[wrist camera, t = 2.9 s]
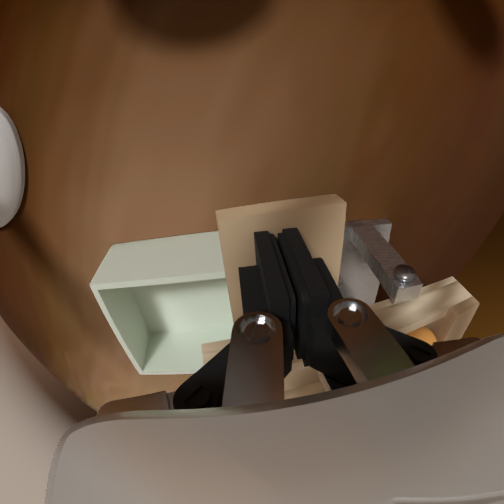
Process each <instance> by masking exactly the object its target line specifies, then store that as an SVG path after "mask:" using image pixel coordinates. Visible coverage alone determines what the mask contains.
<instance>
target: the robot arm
mask: <svg viewBox="0 0 504 504" xmlns="http://www.w3.org/2000/svg"><path fill="white" fill-rule="evenodd" d="M277 240H278V244H277V241H276V238H275V235H274V234H269V232H268V231H259V232H254V243H255V256H256V265H254V266H245V267H238V271H239V280H240V290H241V299H242V308H243V315H242V316H241V317H239V318H238V319H237V320H236V321H235V323H234V325H233V328H232V333H231V340H230V343H229V344H227V345H226V346H225V347H224V348H223V349H222V350H221V351H220V352H219V353H217V354H216V355H215V356H214V357H213V358H212V359H211V360H209V361H208V362H207V363H206V364H205V365H204V366H203V367H201V368H200V369H199V370H198V371H197V372H196V373H194V374H193V375H192V376H191V377H190V378H189V379H187V380H186V381H185V382H184V383H183V384H182V385H181V386H180V387H179V388H178V389H177V390H176V391H175V392H171V393H167V392H166V391H161V392H157V393H152V394H147V395H142V396H137V397H132V398H126V399H120V400H114V401H110V402H108V403H105V404H104V405H103V406H102V407H101V408H100V409H99V411H98V413H97V416H95V417H92V418H89V419H86V420H84V421H81V422H79V423H77V424H75V425H73V426H71V427H70V428H69V429H68V430H66V431H65V433H64V434H63V435H62V437H61V438H60V440H59V442H58V444H57V447H56V449H55V452H54V455H53V459H52V462H51V466H50V471H49V476H48V482H47V489H46V497H45V504H504V333H503V334H497V335H494V336H490V337H487V338H484V339H478V338H473V337H472V338H465V339H456V340H449V341H440V342H433V344H432V345H430V344H428V343H427V342H425V341H423V340H420V339H417V338H415V337H412V336H410V335H407V334H404V333H402V332H399V331H397V330H394V329H392V328H389V327H387V326H385V325H384V324H383V323H382V322H381V320H380V319H379V318H378V316H377V315H376V314H375V313H374V311H373V310H372V309H371V308H370V307H369V306H368V305H367V304H366V303H365V302H363V301H361V300H358V299H355V298H343V296H342V294H341V292H340V290H339V288H338V286H337V285H336V283H335V281H334V279H333V277H332V275H331V273H330V271H329V270H328V268H327V266H326V264H325V262H324V260H323V259H322V258H321V257H318V258H312V256H311V254H310V252H309V250H308V248H307V246H306V244H305V242H304V240H303V238H302V236H301V234H300V232H299V230H298V228H297V227H295V228H286V229H282V233H278V234H277ZM294 350H295V354H296V357H297V359H298V360H299V359H302V360H303V364H304V367H307V366H310V367H311V368H313V369H315V370H317V371H318V376H319V379H320V381H321V383H322V385H323V387H324V389H325V391H326V392H322V393H317V394H312V395H307V396H301V397H296V398H290V399H284V379H285V377H286V376H287V375H288V374H289V373H290V372H291V370H292V361H293V358H294Z"/></svg>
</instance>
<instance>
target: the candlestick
mask: <svg viewBox="0 0 504 504" xmlns="http://www.w3.org/2000/svg"><path fill="white" fill-rule="evenodd" d="M24 186H25V161H24V154H23V149H22V144H21V140H20V137H19V134H18V132H17V129H16V127H15V125H14V123H13V121H12V120H11V118H10V117H9V115H8V114H7V113H6V112H5V111H4V110H3V109H2V108H1V107H0V228H1V227H3V226H4V225H6V224H7V223H8V222H9V221H11V219H12V218H13V217H14V216H15V214H16V213H17V211H18V209H19V207H20V204H21V201H22V198H23V193H24Z"/></svg>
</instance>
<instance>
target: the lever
mask: <svg viewBox="0 0 504 504" xmlns="http://www.w3.org/2000/svg"><path fill="white" fill-rule="evenodd" d="M346 204H347V203H346V202H345V201H344V200H342V199H341V198H340V197H339V196H337V195H336V194H330V195H321V196H313V197H305V198H297V199H290V200H282V201H275V202H268V203H261V204H254V205H248V206H241V207H235V208H229V209H223V210H216V211H215V212H216V218H217V225H218V232H219V238H220V245H221V251H222V258H223V264H224V270H225V276H226V282H227V288H228V294H229V300H230V306H231V312H232V318H233V323H235V321H236V320H237V319H238V318H239V317H241V316H242V315H243V308H242V299H241V290H240V280H239V271H238V267H245V266H254V265H256V256H255V243H254V232H259V231H268V232H269V234H274V235H275V238H276V241H277V244H278V240H277V234H278V233H282V229H286V228H295V227H297V228H298V230H299V232H300V234H301V236H302V238H303V240H304V242H305V244H306V246H307V248H308V250H309V252H310V254H311V256H312V258H318V257H321V258H322V259H323V260H324V262H325V264H326V266H327V268H328V270H329V271H330V273H331V275H332V277H333V279H334V281H335V283H336V285H337V286H338V280H339V273H340V265H341V257H342V248H343V239H344V228H345V217H346ZM368 306H369V307H370V308H371V309H372V310H373V311H374V313H375V314H376V315H377V316H378V318H379V319H380V320H381V322H382V323H383V324H384V325H385V326H387V327H389V328H392V329H394V330H397V331H399V332H402V333H404V334H407V333H409V332H411V331H414V330H416V329H418V328H421V327H423V326H424V327H426V328H428V329H430V330H431V331H432V332H433V334H434V335H435V337H436V339H437V342H440V341H449V340H456V339H461V337H462V335H463V334H464V332H465V330H466V328H467V327H468V325H469V323H470V321H471V319H472V317H473V316H474V314H475V312H476V310H477V308H478V306H479V302H478V301H477V300H476V299H475V298H474V297H473V296H472V295H471V294H470V293H469V292H468V291H467V290H466V289H465V288H464V287H463V286H462V285H461V284H460V283H459V282H458V281H457V280H456V279H455V278H453V277H449V278H447V279H444V280H442V281H439V282H436V283H433V284H431V285H428V286H425V287H422V288H421V291H420V294H419V297H418V298H417V299H413V300H408V301H404V302H400V303H395V304H394V303H393V302H392V300H391V299H387V300H384V301H380V302H377V303H374V304H371V305H368ZM230 340H231V339H226V340H221V341H215V342H210V343H204V344H201V347H202V356H203V364H204V365H205V364H206V363H207V362H208V361H209V360H211V359H212V358H213V357H214V356H215V355H216V354H217V353H219V352H220V351H221V350H222V349H223V348H224V347H225V346H226V345H227V344H229V343H230ZM322 392H326V391H325V389H324V387H323V385H322V383H321V381H320V379H319V376H318V371H317V370H315V369H313V368H311V367H310V366H307V367H304V364H303V360H302V359H299V360H298V359H297V357H296V354H295V350H294V358H293V361H292V370H291V372H290V373H289V374H288V375H287V376H286V377H285V379H284V399H290V398H296V397H301V396H307V395H312V394H317V393H322Z"/></svg>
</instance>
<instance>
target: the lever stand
mask: <svg viewBox="0 0 504 504" xmlns="http://www.w3.org/2000/svg"><path fill="white" fill-rule="evenodd" d="M391 225H392V223H391V222H390V221H389V220H388V219H387V218H386V219H374V220H362V221H351V222H345V228H344V239H343V248H342V257H341V265H340V273H339V280H338V288H339V290H340V292H341V294H342V296H343V298H355V299H358V300H361V301H363V302H365V303H366V304H367V305H371V304H374V303H375V299H376V295H377V291H378V287H379V283H380V284H381V285H382V287H383V288H384V290H385V291H386V293H387V294H388V296H389V297H390V299H391V300H392V302H393V303H394V304H395V303H400V302H404V301H408V300H413V299H417V298H418V297H419V294H420V291H421V288H422V285H423V283H422V282H421V281H420V280H419V278H418V277H417V276H416V275H415V270H414V269H413V268H412V267H411V266H408V265H407V264H406V263H405V261H404V260H403V259H402V258H401V257H400V256H399V254H398V253H397V252H396V251H395V250H394V249H393V248H392V246H391V245H390V244H389V243H388V242H389V237H390V231H391Z"/></svg>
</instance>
